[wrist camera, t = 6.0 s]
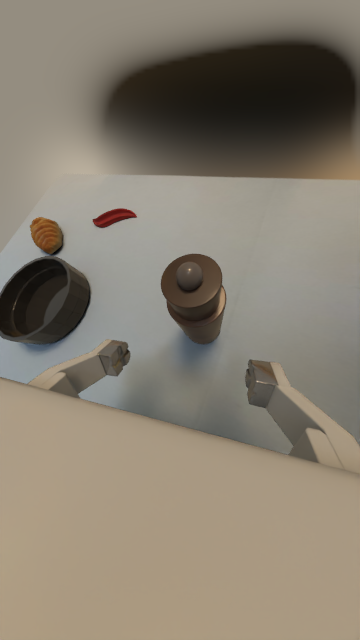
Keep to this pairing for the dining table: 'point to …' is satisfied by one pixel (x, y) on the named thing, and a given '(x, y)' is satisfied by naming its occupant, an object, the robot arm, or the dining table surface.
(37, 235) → the pastry
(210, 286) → the pepper mill
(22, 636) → the robot arm
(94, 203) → the dining table surface
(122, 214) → the cayenne pepper
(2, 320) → the pan
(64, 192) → the dining table surface
